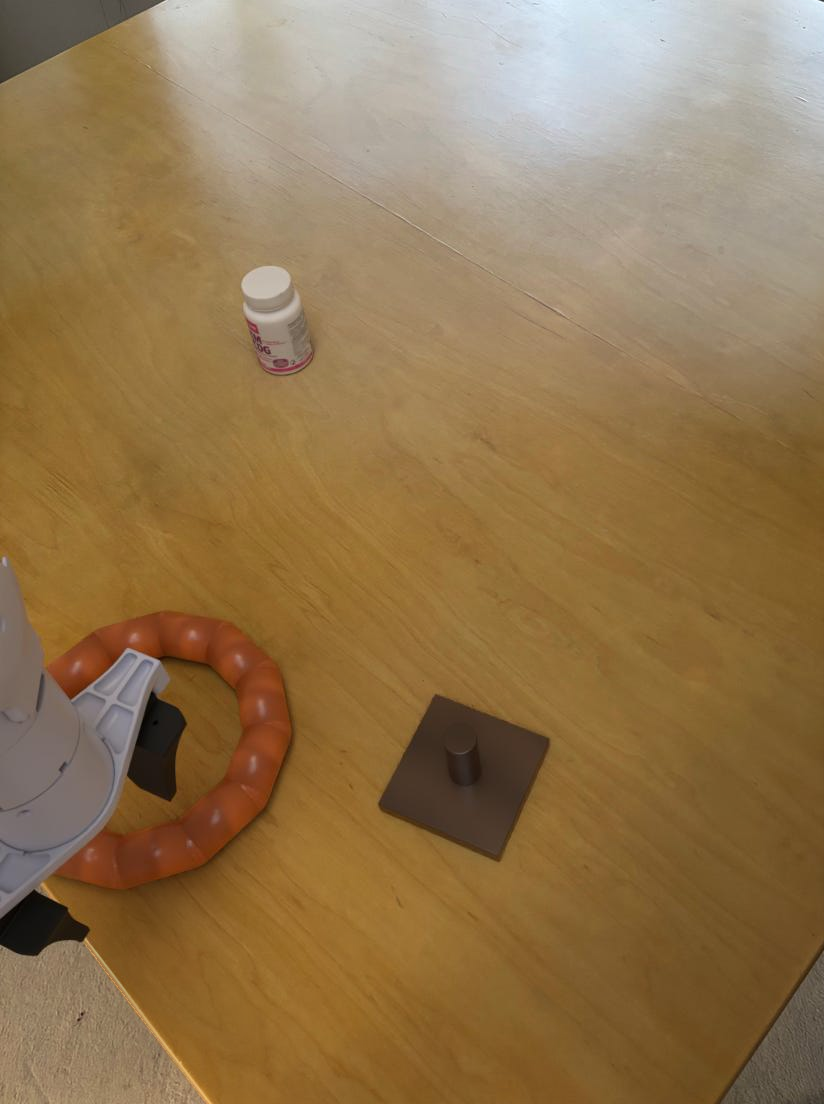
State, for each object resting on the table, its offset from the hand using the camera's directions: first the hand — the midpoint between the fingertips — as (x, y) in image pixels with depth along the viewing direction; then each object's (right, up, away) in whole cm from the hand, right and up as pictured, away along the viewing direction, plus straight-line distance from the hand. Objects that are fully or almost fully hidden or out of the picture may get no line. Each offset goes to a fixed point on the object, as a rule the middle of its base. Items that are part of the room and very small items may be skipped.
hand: (116, 856), depth 55 cm
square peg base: (+18, +1, +11) cm, 21 cm away
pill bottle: (+2, +29, +36) cm, 47 cm away
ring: (-2, +3, +13) cm, 13 cm away
